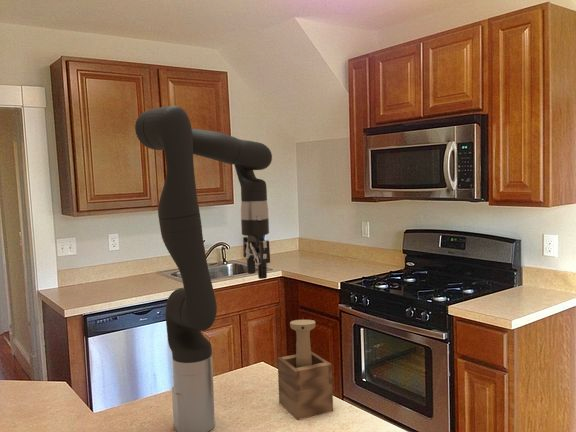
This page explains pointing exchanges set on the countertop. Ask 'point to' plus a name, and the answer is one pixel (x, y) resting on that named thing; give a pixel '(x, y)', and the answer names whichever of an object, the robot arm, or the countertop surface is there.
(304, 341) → the handle
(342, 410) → the countertop surface
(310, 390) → the wooden box
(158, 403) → the countertop surface
